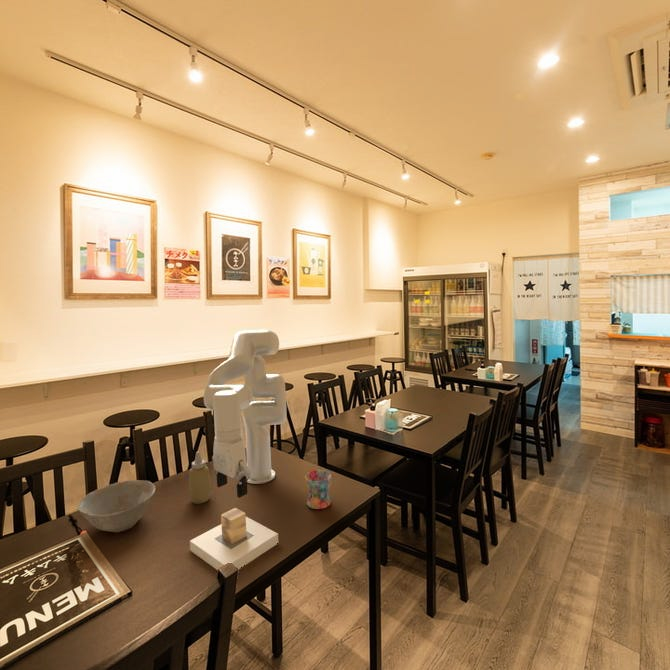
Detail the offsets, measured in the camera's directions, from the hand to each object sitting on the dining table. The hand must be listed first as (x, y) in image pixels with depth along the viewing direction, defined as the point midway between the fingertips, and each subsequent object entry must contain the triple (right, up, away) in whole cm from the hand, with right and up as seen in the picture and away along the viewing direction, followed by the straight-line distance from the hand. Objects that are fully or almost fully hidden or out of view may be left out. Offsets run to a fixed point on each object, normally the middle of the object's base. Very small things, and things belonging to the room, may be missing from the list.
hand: (232, 490), depth 114 cm
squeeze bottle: (-19, -15, +29) cm, 38 cm away
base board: (0, -17, +1) cm, 17 cm away
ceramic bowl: (-40, -17, +14) cm, 46 cm away
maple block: (0, -14, +1) cm, 14 cm away
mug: (+25, -15, +25) cm, 38 cm away
